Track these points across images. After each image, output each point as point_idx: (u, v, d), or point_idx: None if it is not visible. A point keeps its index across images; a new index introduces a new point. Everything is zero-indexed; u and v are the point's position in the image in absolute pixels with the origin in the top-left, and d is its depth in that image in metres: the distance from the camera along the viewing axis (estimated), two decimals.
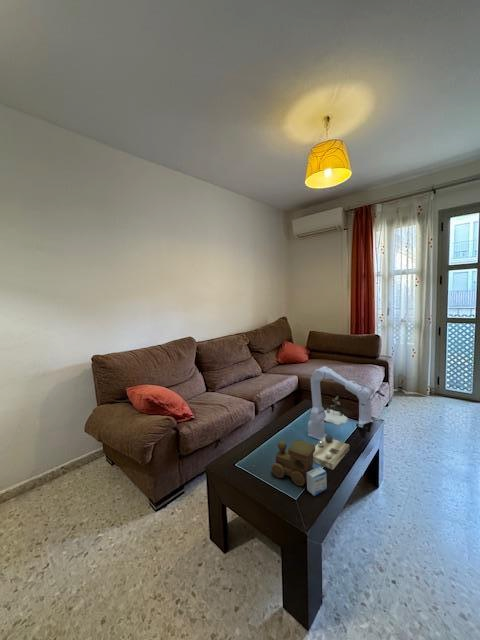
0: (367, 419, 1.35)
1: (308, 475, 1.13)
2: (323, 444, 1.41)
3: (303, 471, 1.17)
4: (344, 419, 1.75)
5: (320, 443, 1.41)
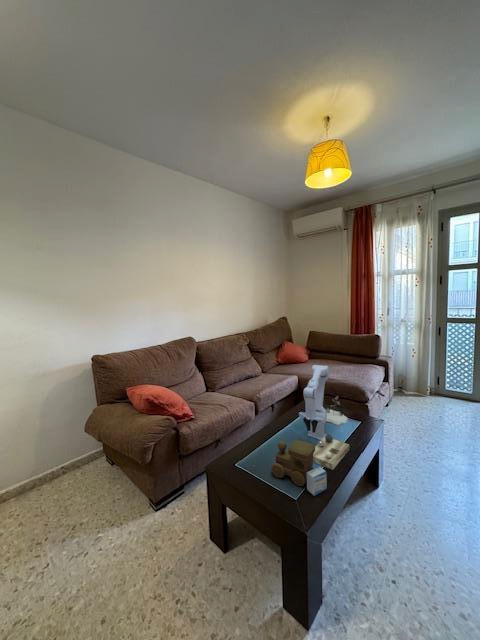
0: (305, 414, 1.45)
1: (308, 475, 1.13)
2: (323, 444, 1.41)
3: (303, 471, 1.17)
4: (344, 419, 1.75)
5: (320, 443, 1.41)
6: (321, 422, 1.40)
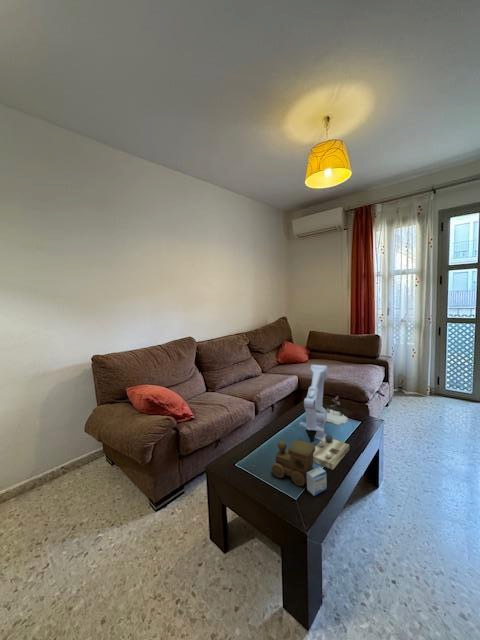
0: (306, 424, 1.46)
1: (308, 475, 1.13)
2: (323, 444, 1.41)
3: (303, 471, 1.17)
4: (344, 419, 1.75)
5: (320, 443, 1.41)
6: (321, 433, 1.40)
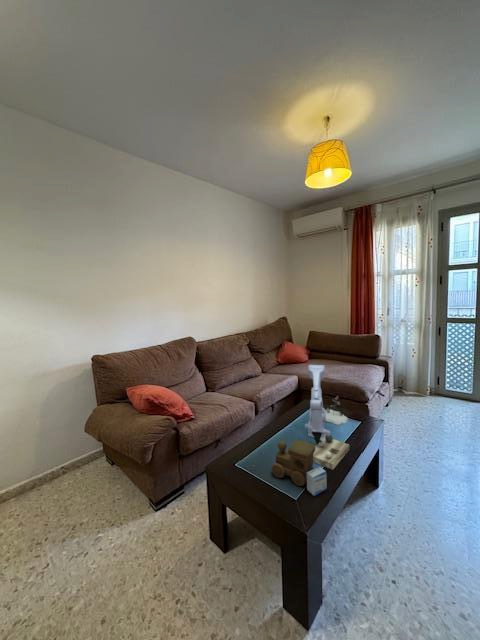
0: (312, 426, 1.43)
1: (308, 475, 1.13)
2: (323, 444, 1.41)
3: (303, 471, 1.17)
4: (344, 419, 1.75)
5: (320, 443, 1.41)
6: (328, 435, 1.38)
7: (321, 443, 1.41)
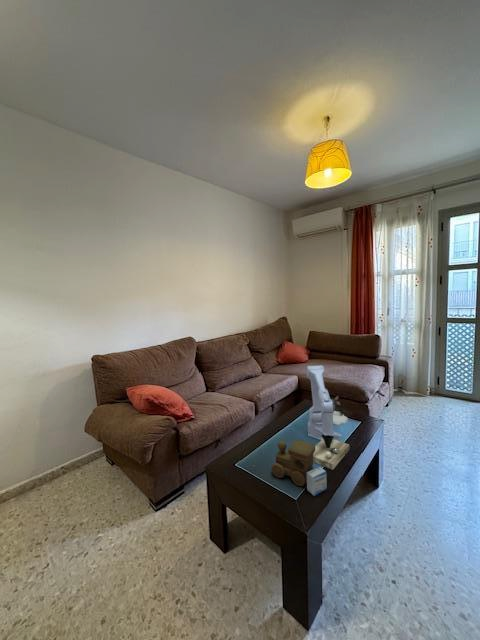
0: (322, 429, 1.39)
1: (308, 475, 1.13)
2: (335, 448, 1.37)
3: (303, 471, 1.17)
4: (344, 419, 1.75)
5: (333, 450, 1.36)
6: (339, 438, 1.34)
7: (333, 449, 1.36)
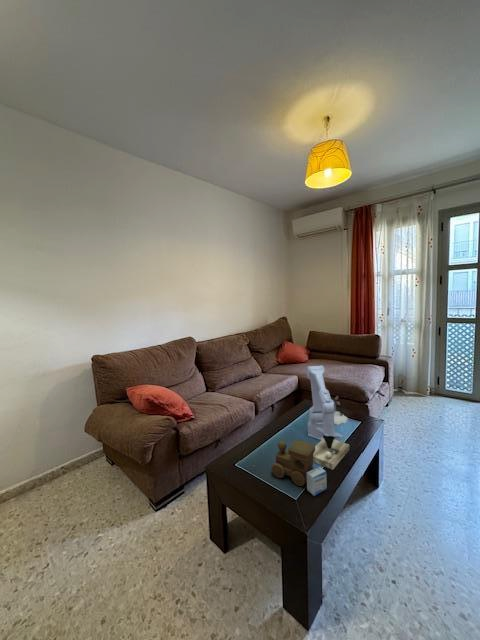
0: (323, 430, 1.38)
1: (308, 475, 1.13)
2: (335, 453, 1.37)
3: (303, 471, 1.17)
4: (344, 419, 1.75)
5: (332, 452, 1.37)
6: (340, 439, 1.33)
7: (333, 452, 1.37)
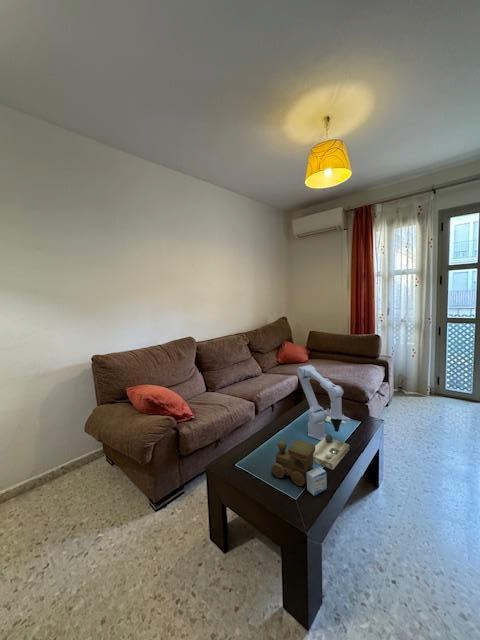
0: (331, 414, 1.44)
1: (308, 475, 1.13)
2: (336, 454, 1.37)
3: (303, 471, 1.17)
4: None
5: (333, 453, 1.37)
6: (347, 421, 1.39)
7: (334, 453, 1.37)
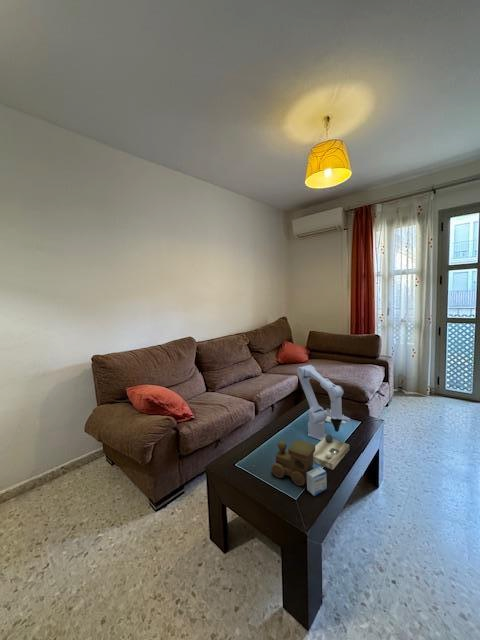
0: (331, 414, 1.44)
1: (308, 475, 1.13)
2: None
3: (303, 471, 1.17)
4: None
5: None
6: (348, 421, 1.39)
7: None
